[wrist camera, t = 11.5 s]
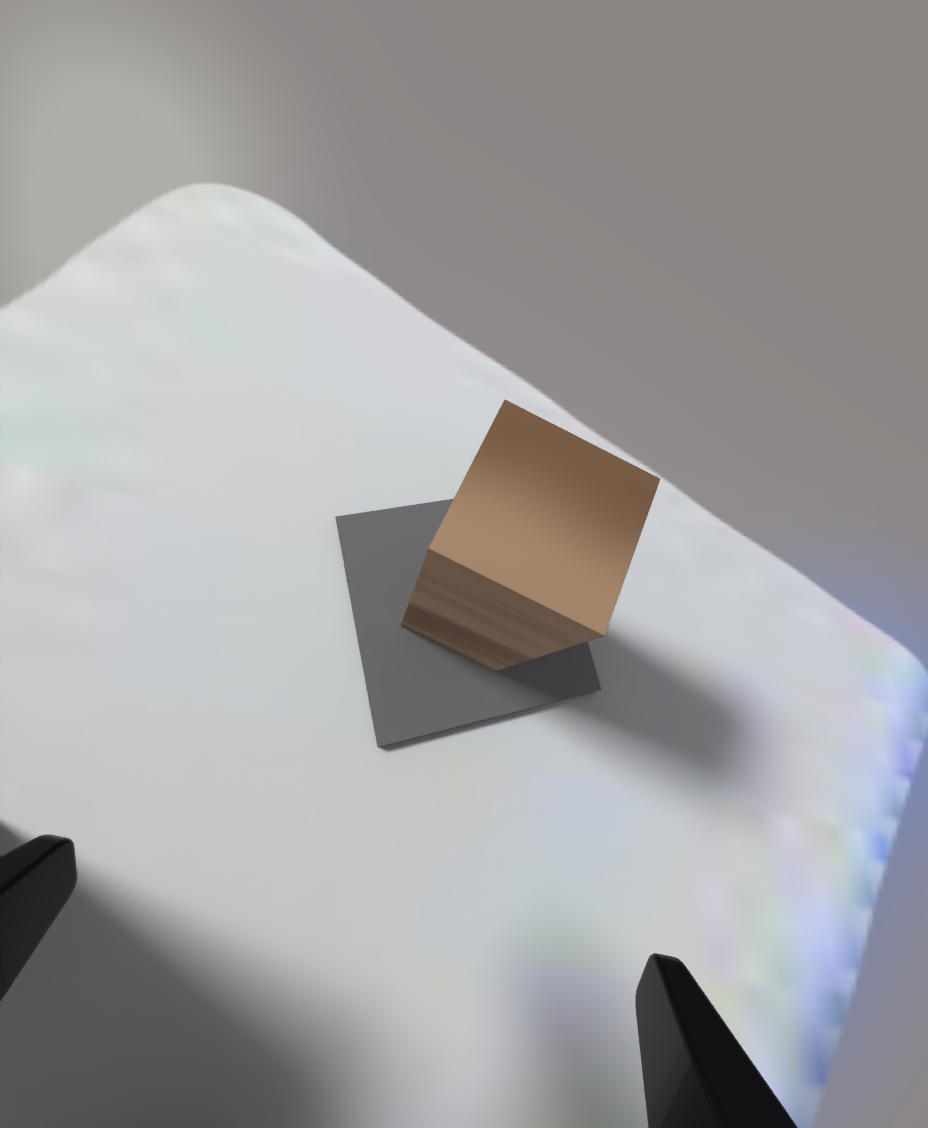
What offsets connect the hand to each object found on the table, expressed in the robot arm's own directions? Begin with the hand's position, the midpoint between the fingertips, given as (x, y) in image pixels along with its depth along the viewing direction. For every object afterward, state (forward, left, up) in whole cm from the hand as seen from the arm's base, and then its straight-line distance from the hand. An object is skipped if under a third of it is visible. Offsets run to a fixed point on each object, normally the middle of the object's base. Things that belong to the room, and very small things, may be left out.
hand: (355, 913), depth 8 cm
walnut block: (+6, +6, -13) cm, 15 cm away
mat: (+6, +6, -13) cm, 16 cm away
